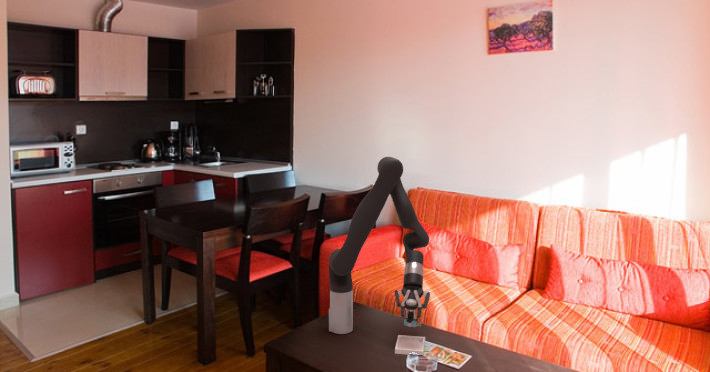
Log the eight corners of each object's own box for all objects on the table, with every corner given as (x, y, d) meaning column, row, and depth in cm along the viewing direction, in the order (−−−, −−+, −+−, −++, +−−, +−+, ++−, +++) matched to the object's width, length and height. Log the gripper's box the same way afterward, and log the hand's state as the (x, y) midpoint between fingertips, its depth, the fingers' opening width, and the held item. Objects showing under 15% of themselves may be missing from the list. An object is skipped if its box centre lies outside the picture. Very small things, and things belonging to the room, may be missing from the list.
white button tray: (394, 353, 199) (394, 349, 199) (398, 339, 211) (398, 334, 211) (423, 355, 197) (423, 351, 197) (425, 341, 209) (425, 337, 209)
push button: (422, 323, 205) (423, 299, 203) (419, 330, 200) (420, 305, 198) (405, 321, 207) (406, 297, 205) (402, 327, 202) (402, 302, 200)
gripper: (394, 271, 209) (390, 312, 199) (431, 272, 206) (429, 315, 196) (395, 279, 215) (392, 320, 205) (432, 281, 212) (430, 322, 202)
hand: (410, 317), depth 201 cm, fingers closed on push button, 5 cm apart
